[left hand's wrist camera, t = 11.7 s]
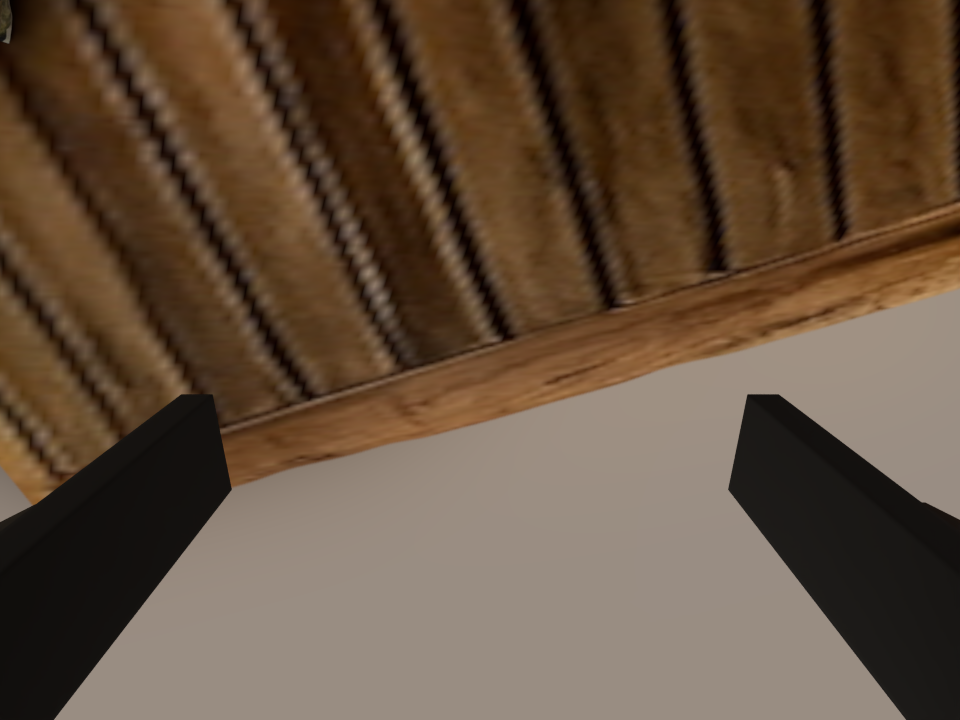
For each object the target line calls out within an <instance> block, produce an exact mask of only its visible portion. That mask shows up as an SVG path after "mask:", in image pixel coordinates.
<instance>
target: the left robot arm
mask: <svg viewBox="0 0 960 720" xmlns="http://www.w3.org/2000/svg"><path fill="white" fill-rule="evenodd" d="M231 490H232V488H231V484H230V479H229V474H228V469H227V464H226V459H225V454H224V449H223V444H222V439H221V434H220V429H219V424H218V419H217V414H216V409H215V404H214V399H213V394H181V395H180V396H179V397H177V398H176V399H175V400H173V401H172V402H171V403H169V404H168V405H167V406H165V407H164V408H163V409H161V410H160V411H159V412H157V413H156V414H155V415H153V416H152V417H151V418H150V419H148V420H147V421H146V422H144V423H143V424H142V425H140V426H139V427H138V428H136V429H135V430H134V431H132V432H131V433H130V434H128V435H127V436H126V437H124V438H123V439H122V440H120V441H119V442H118V443H116V444H115V445H114V446H112V447H111V448H110V449H109V450H107V451H106V452H105V453H103V454H102V455H101V456H99V457H98V458H97V459H95V460H94V461H93V462H91V463H90V464H89V465H87V466H86V467H85V468H83V469H82V470H81V471H79V472H78V473H77V474H75V475H74V476H73V477H71V478H70V479H69V480H68V481H66V482H65V483H64V484H62V485H61V486H60V487H58V488H57V489H56V490H54V491H53V492H52V493H50V494H49V495H48V496H46V497H45V498H44V499H42V500H41V501H40V502H38V503H37V504H35V505H33V506H31V507H29V508H27V509H25V510H23V511H21V512H19V513H17V514H15V515H13V516H12V517H9V518H8V519H6V520H4V521H2V522H0V720H54V719H55V718H56V716H57V715H58V714H59V712H60V711H61V710H62V708H63V707H64V706H65V704H66V703H67V702H68V701H69V699H70V698H71V697H72V695H73V694H74V693H75V692H76V690H77V689H78V688H79V686H80V685H81V684H82V683H83V681H84V680H85V679H86V677H87V676H88V675H89V673H90V672H91V671H92V670H93V668H94V667H95V666H96V664H97V663H98V662H99V661H100V659H101V658H102V657H103V655H104V654H105V653H106V652H107V650H108V649H109V648H110V646H111V645H112V644H113V642H114V641H115V640H116V639H117V637H118V636H119V635H120V633H121V632H122V631H123V630H124V628H125V627H126V626H127V624H128V623H129V622H130V620H131V619H132V618H133V617H134V615H135V614H136V613H137V612H138V610H139V609H140V608H141V606H142V605H143V604H144V602H145V601H146V600H147V599H148V597H149V596H150V595H151V593H152V592H153V591H154V590H155V588H156V587H157V586H158V584H159V583H160V582H161V580H162V579H163V578H164V576H165V575H166V574H167V573H168V571H169V570H170V569H171V568H172V566H173V565H174V564H175V562H176V561H177V560H178V558H179V557H180V556H181V555H182V553H183V552H184V551H185V549H186V548H187V547H188V545H189V544H190V543H191V542H192V540H193V539H194V538H195V536H196V535H197V534H198V533H199V531H200V530H201V529H202V527H203V526H204V525H205V524H206V522H207V521H208V520H209V518H210V517H211V516H212V514H213V513H214V512H215V511H216V509H217V508H218V507H219V505H220V504H221V503H222V502H223V500H224V499H225V498H226V496H227V495H228V494H229V493H230V491H231ZM728 490H729V491H730V493H731V494H732V495H733V496H734V498H735V499H736V500H737V501H738V503H739V504H740V505H741V507H742V508H743V509H744V511H745V512H746V513H747V514H748V516H749V517H750V518H751V520H752V521H753V522H754V524H755V525H756V526H757V527H758V529H759V530H760V531H761V533H762V534H763V535H764V536H765V538H766V539H767V540H768V542H769V543H770V544H771V545H772V547H773V548H774V549H775V551H776V552H777V553H778V555H779V556H780V557H781V558H782V560H783V561H784V562H785V564H786V565H787V566H788V567H789V569H790V570H791V571H792V573H793V574H794V575H795V577H796V578H797V579H798V580H799V582H800V583H801V584H802V586H803V587H804V588H805V590H806V591H807V592H808V593H809V595H810V596H811V597H812V599H813V600H814V601H815V602H816V604H817V605H818V606H819V608H820V609H821V610H822V612H823V613H824V614H825V615H826V617H827V618H828V619H829V621H830V622H831V623H832V624H833V626H834V627H835V628H836V630H837V631H838V632H839V633H840V635H841V636H842V637H843V639H844V640H845V641H846V643H847V644H848V645H849V646H850V648H851V649H852V650H853V652H854V653H855V654H856V655H857V657H858V658H859V659H860V661H861V662H862V663H863V665H864V666H865V667H866V668H867V670H868V671H869V672H870V674H871V675H872V676H873V677H874V679H875V680H876V681H877V683H878V684H879V685H880V686H881V688H882V689H883V690H884V692H885V693H886V694H887V696H888V697H889V698H890V699H891V701H892V702H893V703H894V704H895V706H896V707H897V708H898V710H899V711H900V712H901V714H902V715H903V716H904V717H905V719H906V720H960V520H959V519H957V518H955V517H953V516H951V515H949V514H947V513H945V512H943V511H941V510H939V509H937V508H935V507H933V506H931V505H929V504H927V503H922V502H920V501H919V500H917V499H916V498H915V497H914V496H912V495H911V494H910V493H908V492H907V491H906V490H904V489H903V488H902V487H900V486H899V485H898V484H896V483H895V482H894V481H892V480H891V479H890V478H889V477H887V476H886V475H884V474H883V473H882V472H881V471H879V470H878V469H877V468H875V467H874V466H873V465H871V464H870V463H869V462H867V461H866V460H865V459H863V458H862V457H861V456H859V455H858V454H857V453H855V452H854V451H853V450H851V449H850V448H849V447H847V446H846V445H845V444H844V443H842V442H841V441H840V440H838V439H837V438H836V437H834V436H833V435H832V434H830V433H829V432H828V431H826V430H825V429H824V428H822V427H821V426H820V425H818V424H817V423H816V422H814V421H813V420H812V419H810V418H809V417H808V416H807V415H805V414H804V413H803V412H801V411H800V410H799V409H797V408H796V407H795V406H793V405H792V404H791V403H789V402H788V401H787V400H785V399H784V398H783V397H781V396H780V395H778V394H771V395H769V394H748V395H747V399H746V404H745V409H744V414H743V419H742V424H741V429H740V434H739V439H738V444H737V449H736V454H735V459H734V464H733V469H732V474H731V479H730V484H729V488H728Z"/></svg>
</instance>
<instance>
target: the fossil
mask: <svg viewBox="0 0 960 720" xmlns="http://www.w3.org/2000/svg"><path fill="white" fill-rule="evenodd" d="M11 28H12V13H11V8H10V1H9V0H0V41H2V42H5V43H9V41H10V35H11Z"/></svg>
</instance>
